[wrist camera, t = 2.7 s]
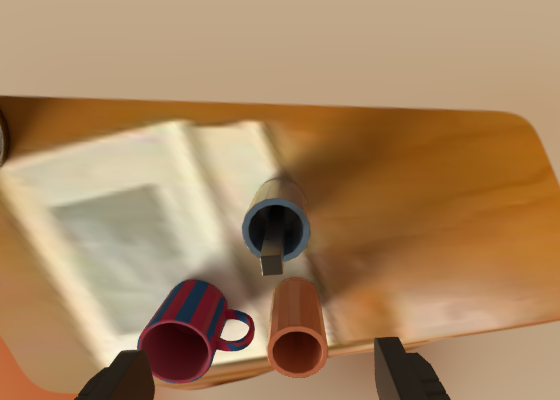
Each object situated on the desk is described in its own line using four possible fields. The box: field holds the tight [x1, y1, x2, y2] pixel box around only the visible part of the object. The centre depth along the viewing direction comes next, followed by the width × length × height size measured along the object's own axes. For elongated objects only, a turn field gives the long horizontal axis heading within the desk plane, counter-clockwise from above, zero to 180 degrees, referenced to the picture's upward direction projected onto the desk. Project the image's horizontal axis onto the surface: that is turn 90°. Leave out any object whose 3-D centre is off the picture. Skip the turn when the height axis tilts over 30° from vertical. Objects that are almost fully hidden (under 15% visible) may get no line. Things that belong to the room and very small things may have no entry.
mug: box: [137, 280, 255, 384], centre depth 30 cm, size 7×10×7 cm
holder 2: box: [266, 278, 328, 378], centre depth 29 cm, size 5×5×8 cm
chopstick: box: [260, 205, 286, 276], centre depth 24 cm, size 1×1×13 cm
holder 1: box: [242, 178, 310, 262], centre depth 27 cm, size 5×5×8 cm
